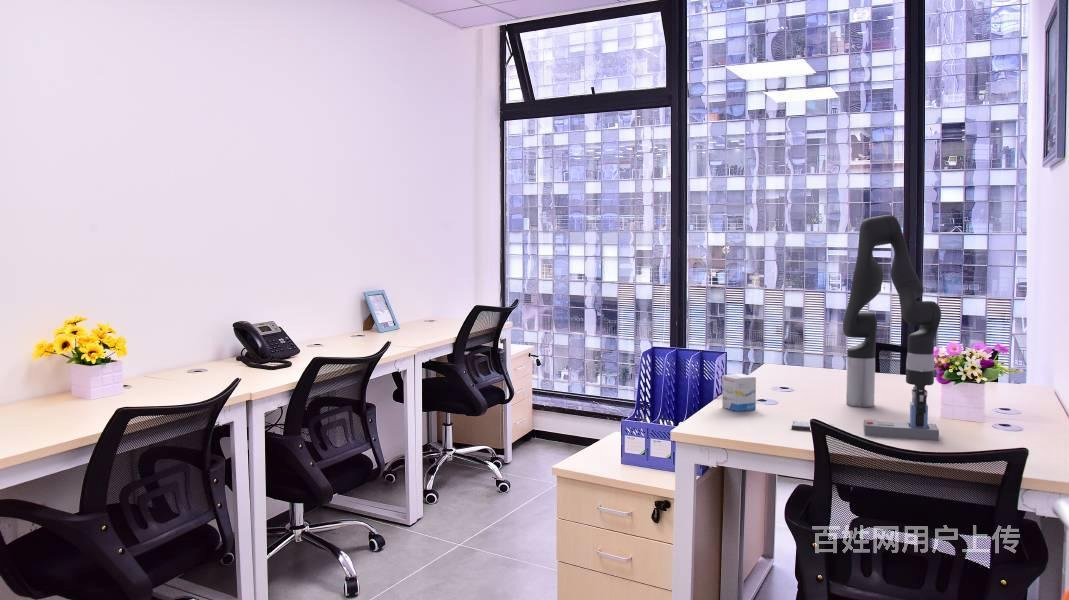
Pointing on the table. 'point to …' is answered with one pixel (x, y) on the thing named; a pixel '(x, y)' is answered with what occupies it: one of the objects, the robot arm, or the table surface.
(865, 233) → the robot arm
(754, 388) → the ink box
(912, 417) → the block
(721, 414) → the table surface
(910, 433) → the power strip
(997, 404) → the table surface
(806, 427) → the phone slab
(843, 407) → the table surface
